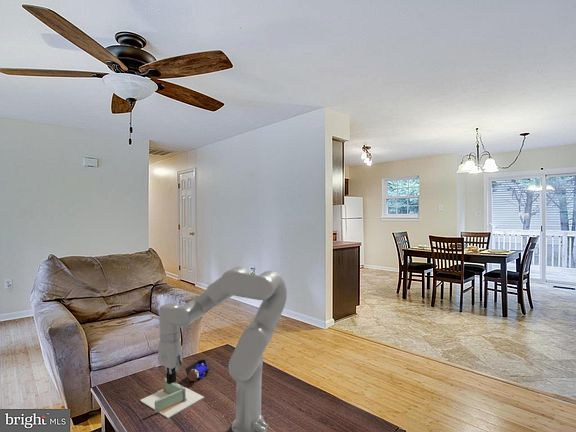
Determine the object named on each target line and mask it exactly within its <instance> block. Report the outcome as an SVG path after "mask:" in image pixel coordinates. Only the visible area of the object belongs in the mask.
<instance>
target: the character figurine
mask: <svg viewBox="0 0 576 432" xmlns="http://www.w3.org/2000/svg"><path fill="white" fill-rule="evenodd" d="M210 364H212V363H211V361H209V362H208V359H205V358H204V359H200V360H197V361H195V362H193V363H192V364H191V365H189V366H187V367H186V368H185V372H186V376H187V380H188V383H192V382H195V381H197V380H198V379H203V378H204V376H205V375H206V374H208V373H209V371H210V370H211V369H212V366H211V365H210ZM209 365H210V366H209Z"/></svg>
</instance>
